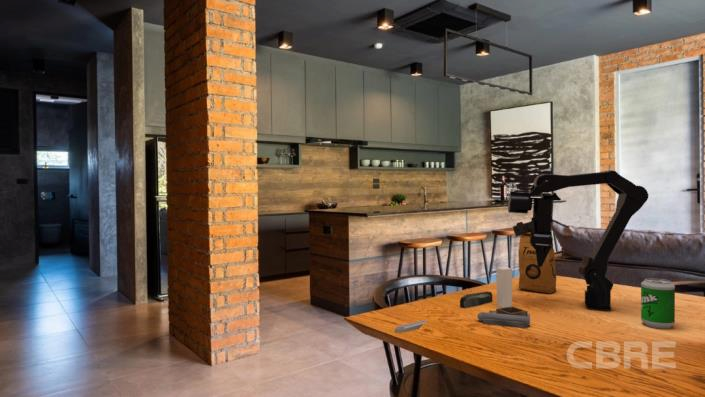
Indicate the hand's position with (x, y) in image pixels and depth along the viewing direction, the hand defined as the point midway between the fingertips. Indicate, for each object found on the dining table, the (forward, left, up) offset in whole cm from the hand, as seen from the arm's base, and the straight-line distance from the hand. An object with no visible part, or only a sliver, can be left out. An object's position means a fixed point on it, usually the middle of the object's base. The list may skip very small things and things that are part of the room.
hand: (539, 264), depth 146 cm
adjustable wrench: (+27, +30, -14) cm, 42 cm away
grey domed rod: (+7, +28, -11) cm, 31 cm away
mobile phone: (+18, +11, -13) cm, 25 cm away
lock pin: (+9, +11, -13) cm, 19 cm away
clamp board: (+7, +24, -13) cm, 28 cm away
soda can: (-30, +11, -13) cm, 34 cm away
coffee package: (+1, -21, -13) cm, 25 cm away
